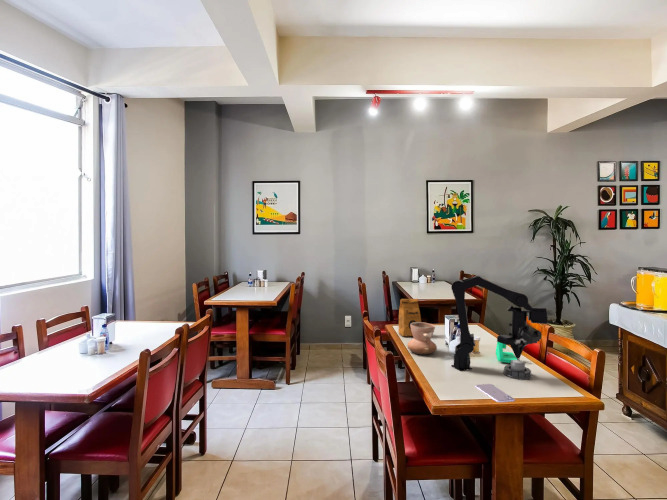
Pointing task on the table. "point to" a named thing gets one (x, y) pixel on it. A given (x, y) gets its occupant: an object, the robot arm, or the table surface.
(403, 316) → the coffee package
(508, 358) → the camera mount
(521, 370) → the cap
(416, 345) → the ceramic jug
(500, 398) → the mobile phone
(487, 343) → the table surface
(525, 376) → the dark grey ashtray
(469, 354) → the robot arm
